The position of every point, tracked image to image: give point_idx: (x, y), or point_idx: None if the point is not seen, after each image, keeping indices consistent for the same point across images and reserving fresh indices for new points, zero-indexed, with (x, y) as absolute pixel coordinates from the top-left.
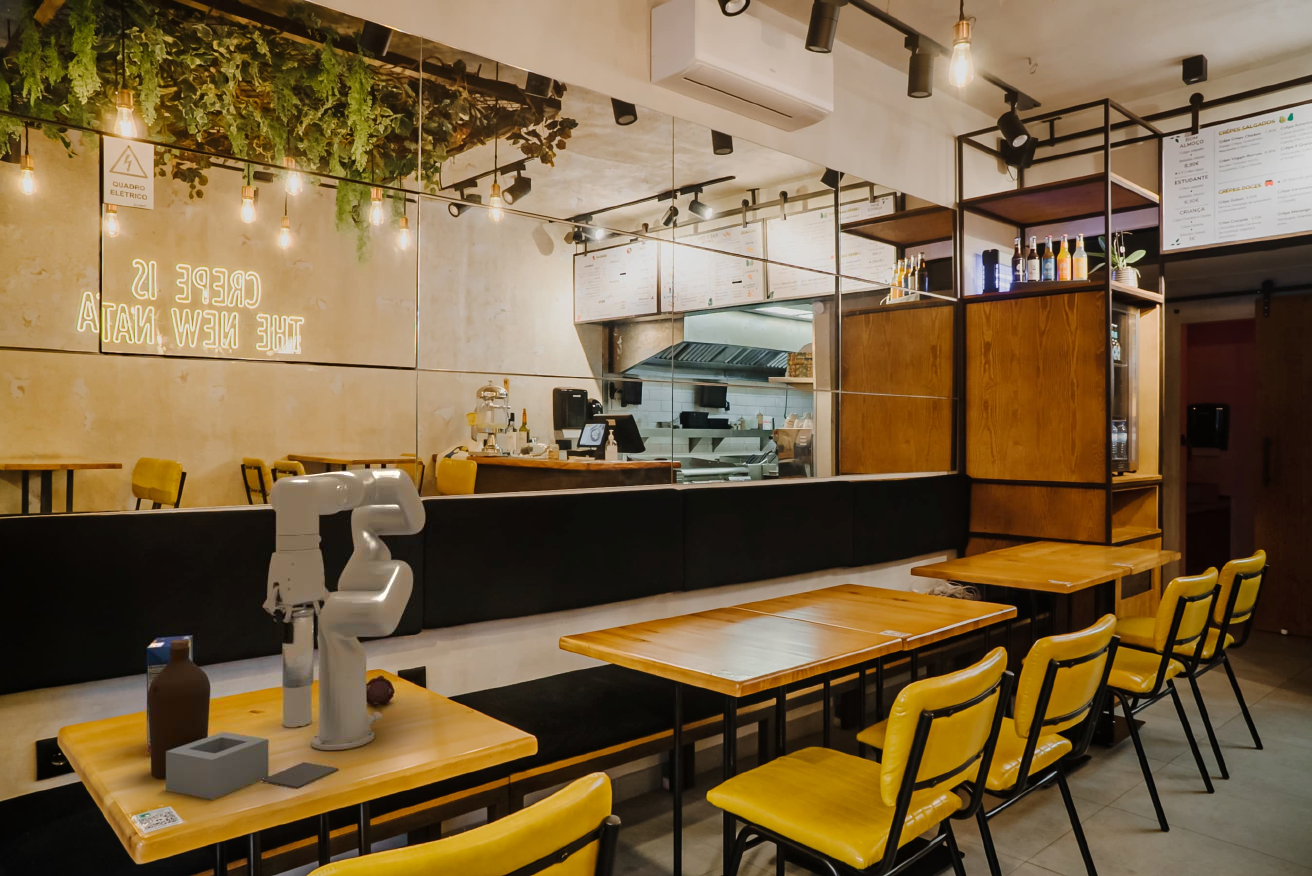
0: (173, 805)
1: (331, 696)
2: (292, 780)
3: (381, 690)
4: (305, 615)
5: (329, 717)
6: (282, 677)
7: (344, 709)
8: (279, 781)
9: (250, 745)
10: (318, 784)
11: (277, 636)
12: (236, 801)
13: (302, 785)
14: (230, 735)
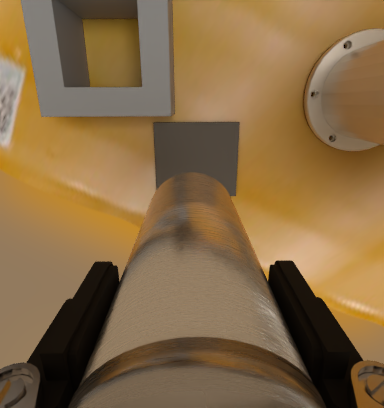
0: (28, 73)
1: (374, 108)
2: (171, 171)
3: None
4: None
5: (345, 102)
6: (158, 192)
7: (365, 132)
8: (160, 156)
9: (128, 115)
10: None
11: (64, 303)
12: (87, 152)
13: None
14: (154, 4)
